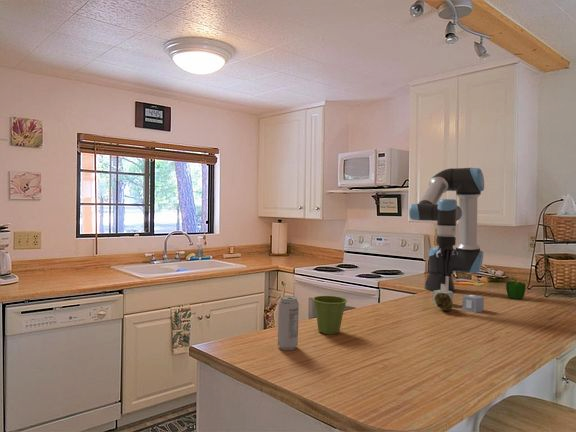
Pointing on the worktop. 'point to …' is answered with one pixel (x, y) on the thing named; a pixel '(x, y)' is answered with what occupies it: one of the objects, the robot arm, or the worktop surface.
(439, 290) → the sage block
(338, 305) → the plant pot
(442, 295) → the potato
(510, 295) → the bell pepper
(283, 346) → the energy drink can
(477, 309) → the slate blue block
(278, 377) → the worktop surface
